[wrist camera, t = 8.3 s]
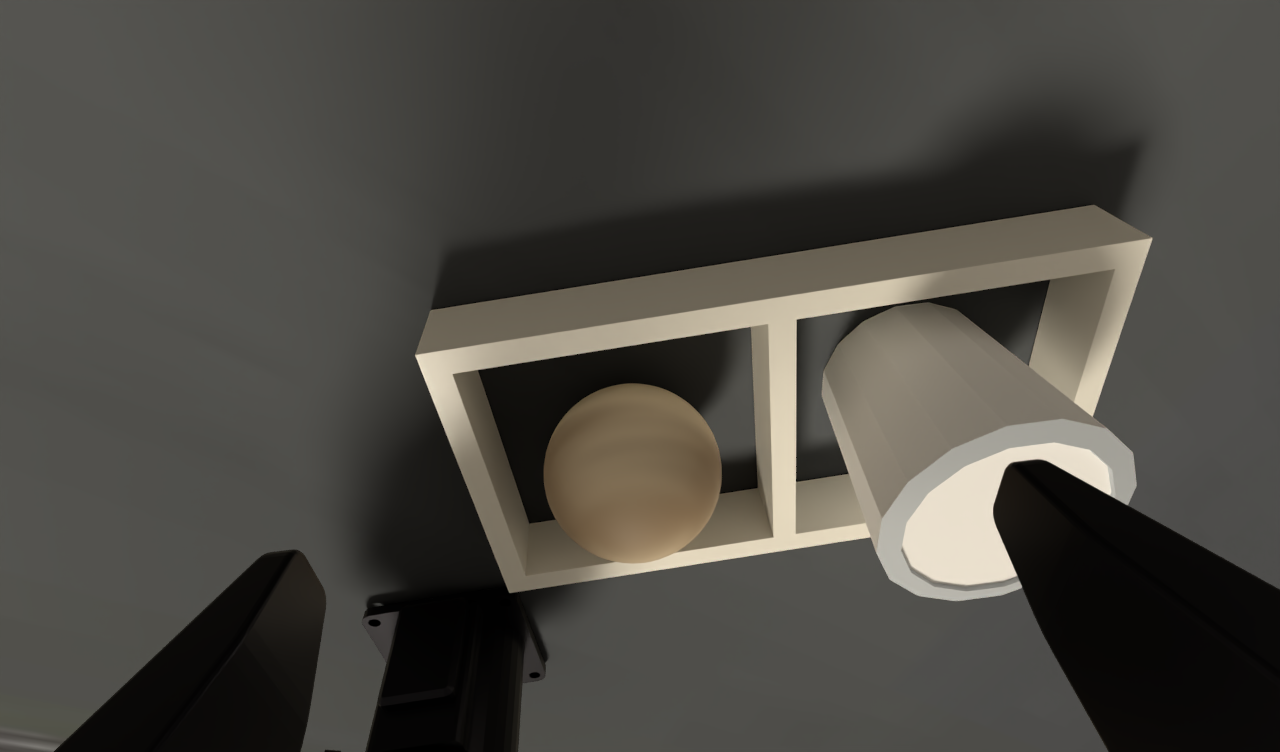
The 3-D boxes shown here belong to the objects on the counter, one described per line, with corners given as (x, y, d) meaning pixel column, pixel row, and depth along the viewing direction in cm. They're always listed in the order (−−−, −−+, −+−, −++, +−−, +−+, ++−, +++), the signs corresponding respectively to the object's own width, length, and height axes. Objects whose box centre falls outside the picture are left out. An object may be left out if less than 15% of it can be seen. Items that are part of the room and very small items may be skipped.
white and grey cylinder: (1028, 377, 24) (1170, 524, 18) (860, 475, 26) (941, 634, 20) (950, 243, 21) (1095, 372, 15) (766, 368, 23) (831, 522, 17)
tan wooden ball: (711, 462, 25) (742, 586, 21) (563, 485, 25) (562, 614, 21) (699, 337, 22) (733, 451, 17) (529, 364, 22) (519, 485, 17)
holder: (1024, 460, 26) (1062, 507, 24) (513, 540, 27) (509, 593, 25) (1093, 204, 20) (1152, 238, 18) (430, 310, 20) (415, 354, 18)
